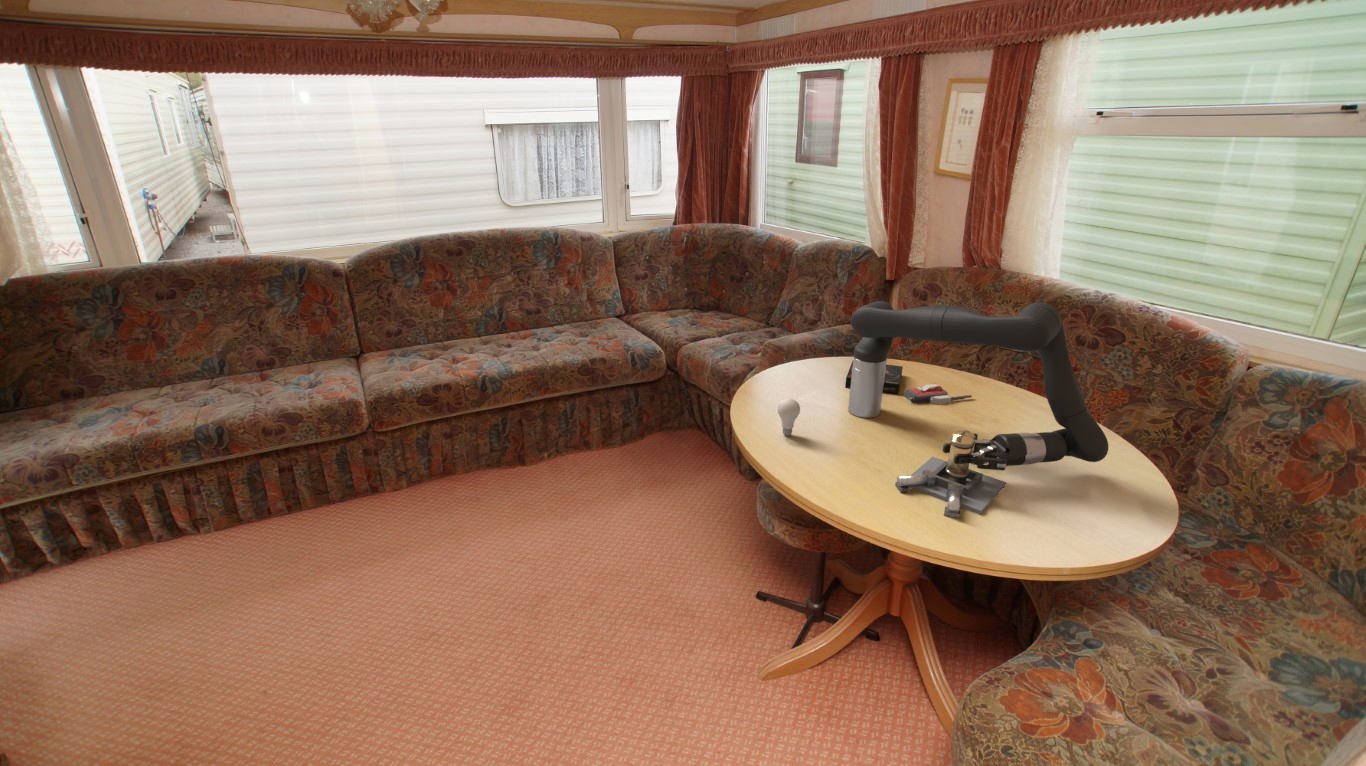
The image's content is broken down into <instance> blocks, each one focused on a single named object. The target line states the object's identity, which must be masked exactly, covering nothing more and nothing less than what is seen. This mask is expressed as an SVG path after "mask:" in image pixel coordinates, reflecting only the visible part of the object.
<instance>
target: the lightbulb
mask: <svg viewBox="0 0 1366 766" xmlns="http://www.w3.org/2000/svg"><path fill="white" fill-rule="evenodd" d="M776 408H777V414H778V416H779V418H780V420H781V426H782V434H783V435H784V436H787V437H788V436H789V435H792V433H793V428H794V426H795V421H796V420H797V418H798V416H799V415H800V413H801V406H800V404H799V402H798V401H797V400H796V399H794V398H791V397H786V398H784V399H782V400H780V402H778V404H777V407H776Z"/></svg>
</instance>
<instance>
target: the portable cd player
mask: <svg viewBox="0 0 1366 766" xmlns="http://www.w3.org/2000/svg"><path fill="white" fill-rule="evenodd" d="M852 368H853V360H852V362H851V364H850V365H849V369H848V372H847V375H846V377H845V383H844V384H845V387H844V388H845V389H850V387H851V377H852ZM902 375H903V366H902V365H893V364H887V363H886V370H885V378H884V386H883V394H889V395H896V396H897V395H899V392H900V388H901V387H900V386H901V381H902Z"/></svg>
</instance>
